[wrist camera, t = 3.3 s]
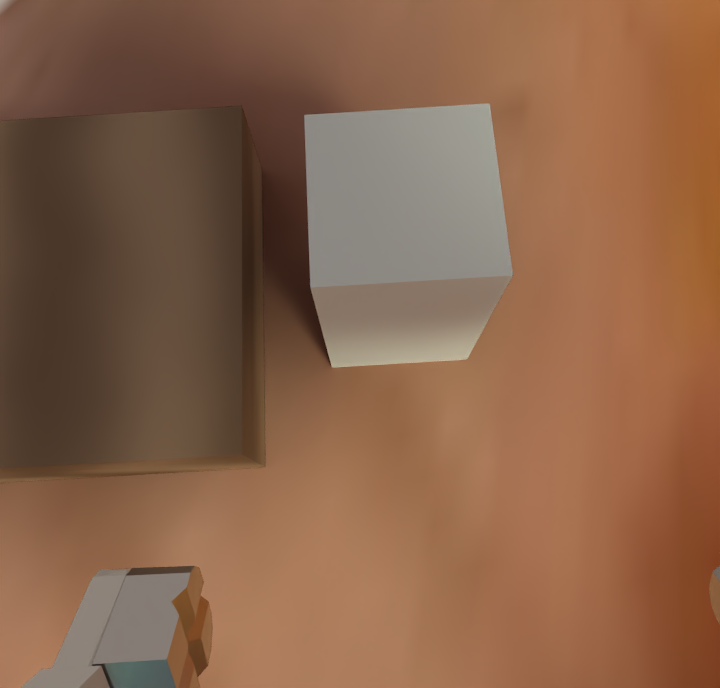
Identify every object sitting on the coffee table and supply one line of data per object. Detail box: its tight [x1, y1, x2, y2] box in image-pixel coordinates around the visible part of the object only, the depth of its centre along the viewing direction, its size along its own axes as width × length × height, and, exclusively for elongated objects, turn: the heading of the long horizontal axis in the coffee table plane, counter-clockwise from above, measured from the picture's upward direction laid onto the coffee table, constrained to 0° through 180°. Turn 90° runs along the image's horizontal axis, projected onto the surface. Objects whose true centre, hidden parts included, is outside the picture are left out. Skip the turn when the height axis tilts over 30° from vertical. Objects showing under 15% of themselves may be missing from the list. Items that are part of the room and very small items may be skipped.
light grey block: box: [304, 103, 513, 367], centre depth 20 cm, size 5×5×8 cm
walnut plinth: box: [0, 106, 265, 483], centre depth 22 cm, size 12×12×4 cm
